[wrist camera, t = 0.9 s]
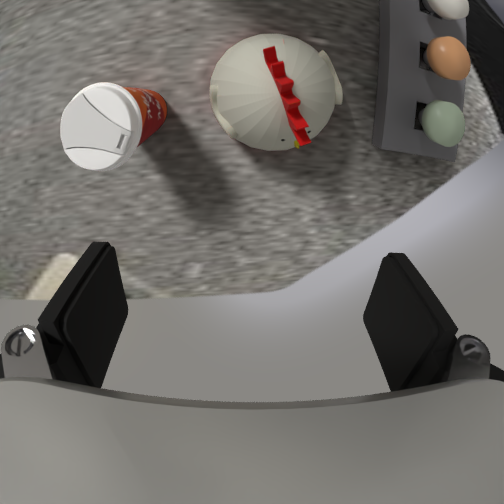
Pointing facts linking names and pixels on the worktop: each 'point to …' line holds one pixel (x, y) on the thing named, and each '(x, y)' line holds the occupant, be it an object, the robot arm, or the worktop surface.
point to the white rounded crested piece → (274, 92)
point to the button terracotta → (447, 58)
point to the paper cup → (109, 124)
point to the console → (411, 77)
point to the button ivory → (448, 8)
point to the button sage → (442, 122)
